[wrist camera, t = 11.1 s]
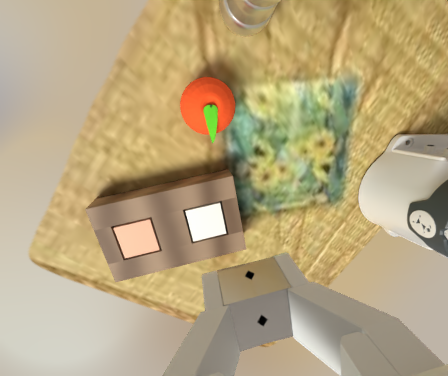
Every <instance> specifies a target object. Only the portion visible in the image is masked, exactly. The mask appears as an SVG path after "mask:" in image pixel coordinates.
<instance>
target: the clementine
mask: <svg viewBox="0 0 448 376" xmlns="http://www.w3.org/2000/svg"><path fill="white" fill-rule="evenodd" d="M180 105H181V113H182V116H183V118H184V120H185V122H186V124H187V125H188V126H189V127H190V128H191V129H193V130H194V131H196V132H198V133H201V134H210V137H211V140H212V143H213V142H214V140H215V136H216V133H218V132H220V131H222V130H224V129H225V128H226V127H227V126H228V125H229V124H230V122H231V121H232V119H233V116H234V113H235V100H234V96H233V94H232V92H231V90H230V89H229V87H228V86H227V85H226V84H225V83H223V82H222V81H220V80H218V79H215V78H213V77H203V78H198V79H196V80H194V81H193V82H191V83H190V84H189V85H188V86H187V87H186V88H185V90H184V92H183V94H182V97H181V102H180Z"/></svg>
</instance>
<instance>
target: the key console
mask: <svg viewBox="0 0 448 376" xmlns="http://www.w3.org/2000/svg"><path fill="white" fill-rule="evenodd" d="M218 201H219V202H220V205H221V210H222V215H223V220H224V225H225V229H226V234H222V235H218V236H214V237H210V238H206V239H202V240H198V241H194V242H193V238H192V234H191V231H190V227H189V223H188V219H187V216H186V212H185V209H188V208H192V207H197V206H201V205H205V204H210V203H214V202H218ZM85 210H86V212H87V215H88V217H89V220H90V222H91V224H92V227H93V229H94V232H95V234H96V236H97V239H98V241H99V244H100V246H101V248H102V251H103V253H104V256H105V258H106V260H107V263H108V265H109V268H110V270H111V272H112V275H113V277H114V280H115V282H119V281H123V280H127V279H130V278H134V277H138V276H142V275H146V274H150V273H154V272H158V271H162V270H166V269H170V268H174V267H178V266H182V265H186V264H190V263H194V262H198V261H202V260H206V259H210V258H213V257H217V256H221V255H225V254H229V253H233V252H237V251H241V250H245V249H246V245H245V240H244V234H243V229H242V223H241V218H240V213H239V207H238V202H237V196H236V191H235V185H234V180H233V176H232V174H231V173H230V171H229V170H228V169H227V170H222V171H218V172H213V173H209V174H204V175H200V176H195V177H191V178H186V179H182V180H177V181H173V182H169V183H164V184H160V185H155V186H151V187H146V188H142V189H137V190H133V191H128V192H124V193H119V194H115V195H110V196H106V197H101V198H97V199H95V200H94V201H93V202H92V203H91V204H90V205H89V206H88V207H87V208H86V209H85ZM150 217H151V218H152V221H153V224H154V227H155V230H156V233H157V236H158V239H159V243H160V250H157V251H153V252H149V253H145V254H141V255H137V256H133V257H129V258H125V257H124V254H123V252H122V249H121V246H120V244H119V241H118V239H117V236H116V234H115V231H114V226H116V225H120V224H124V223H128V222H133V221H137V220H141V219H145V218H150Z"/></svg>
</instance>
